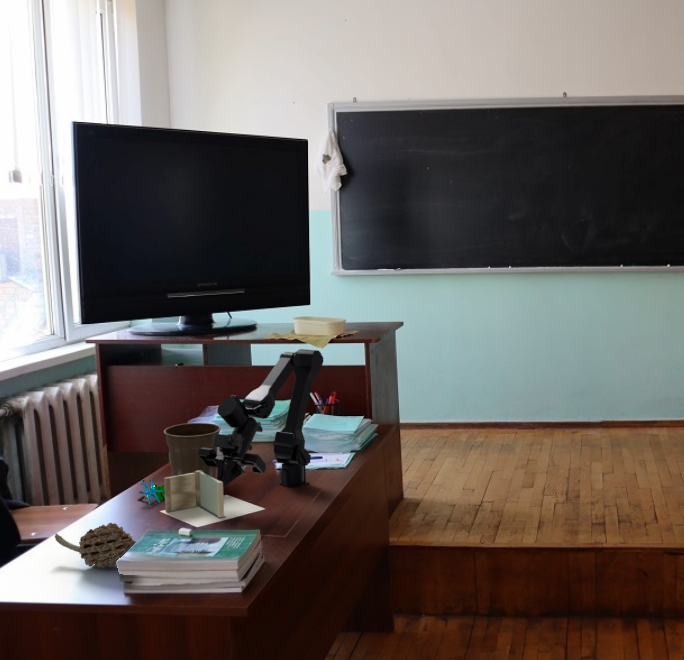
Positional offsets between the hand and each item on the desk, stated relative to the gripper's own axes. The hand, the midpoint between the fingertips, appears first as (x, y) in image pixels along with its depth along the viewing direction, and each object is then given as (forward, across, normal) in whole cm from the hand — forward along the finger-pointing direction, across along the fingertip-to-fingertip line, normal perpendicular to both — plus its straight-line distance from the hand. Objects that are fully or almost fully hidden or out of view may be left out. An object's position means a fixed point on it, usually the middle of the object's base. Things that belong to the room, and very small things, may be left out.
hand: (218, 488), depth 249 cm
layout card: (+4, -4, +6) cm, 8 cm away
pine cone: (+34, -4, -25) cm, 42 cm away
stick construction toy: (+4, -24, +7) cm, 25 cm away
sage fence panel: (+4, -3, +5) cm, 7 cm away
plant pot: (-9, -24, +20) cm, 33 cm away
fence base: (+5, -11, +5) cm, 13 cm away
